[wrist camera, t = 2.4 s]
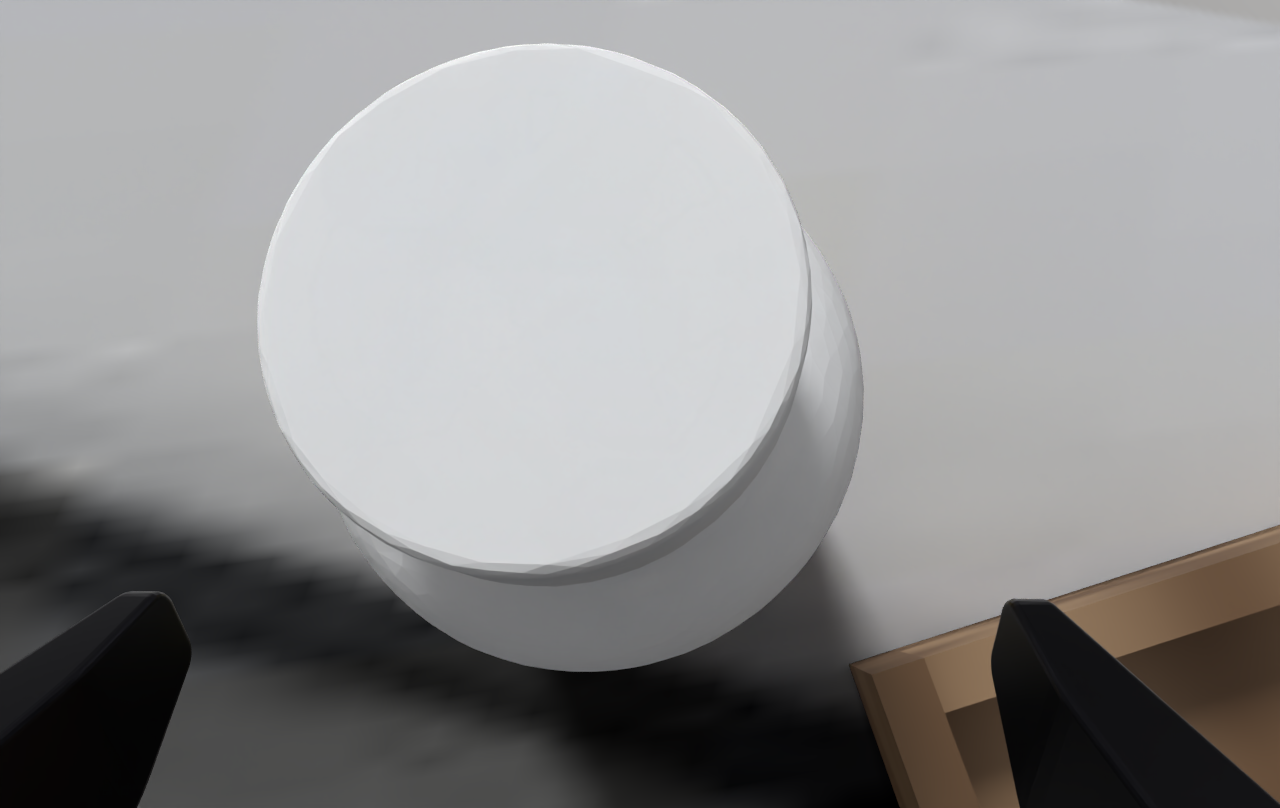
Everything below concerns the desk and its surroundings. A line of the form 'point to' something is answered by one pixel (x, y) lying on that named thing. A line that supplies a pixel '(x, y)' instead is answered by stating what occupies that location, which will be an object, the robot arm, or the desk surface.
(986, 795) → the walnut tray
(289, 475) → the desk surface
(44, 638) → the desk surface
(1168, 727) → the robot arm
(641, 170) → the supplement bottle
